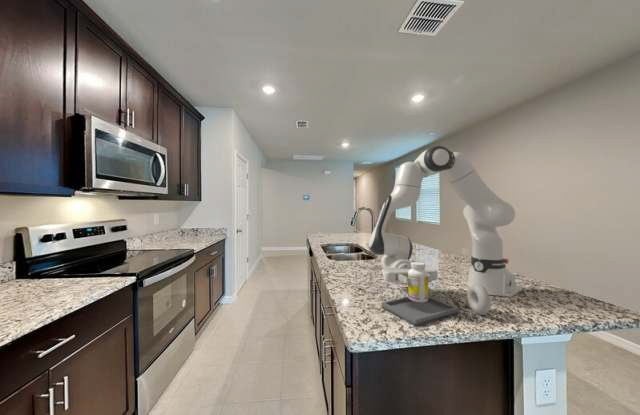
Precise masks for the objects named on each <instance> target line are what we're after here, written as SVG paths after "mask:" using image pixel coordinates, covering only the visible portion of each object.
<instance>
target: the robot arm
mask: <svg viewBox="0 0 640 415" xmlns="http://www.w3.org/2000/svg"><path fill="white" fill-rule="evenodd" d="M439 173H441V174H443V175H444V176H445V177H446V179H447V180H448V183H449V184H450V185H451V187H452V189H453V190H454V191H455V194H456V195H457V196H458V197H459V198H460V199H461V200H462V201H464V202H465V203H466V204H467V205H466V206H464V208H463V212H462V213H463V217H464V219H465V220H466V222H467V225H468V229H469V232H470V237H471V247H472V248H471V254H472V255H471V258H470V264H471V266H470V267H469V272H468V278H467V279H468V280H467V281H466V282H465V285H466V286H468V289H469V287H470V286H471V285H473V284H479V285H481V286H483V287H484V288H485V289H486V291H487V292H488V294H489V296H497V297H498V296H499V297H500V296H501V297H509V298H512V297H514V296H516V295H517V294H519V293H520V292H521V291H523V287H522V286H520V285H517V284H516V277H515V275H514V274H513V273H512V272H511V271H509V270H508V268H506V267H507V266H506V264H507V265H508V264H509V258H504V257H503V250H504V246H503V240H502V238H501V236H500V235H499V234H498V230H497V228H499V227H504V226H505V227H506V226H508V225H510V224H511V223H512V222H513V221H514V220H515V216H516V210H515V209H514V207H513V205H512V204H510V203H508V202H506V201H505V200H503V199H502V198H500V197H499V196H498V195H497V194H496V193H495V192H494V191H493V190H492V189H491V188H490V187H489V186H488V185H487V184H486V183H485V181H484V180H483V178H482V177H481V176H480V174H479V173H478V171H477V170H476V168H475V167H474V166H473V164H472V163H471V162H470V161H469V159H468V158H467V157H466V156H465V155H464V154H463V153H462V152H459V151H454V152H452V151H451V150H449V149H448V148H447V147H445V146H442V145H435V146H431V147H429V148H428V149H426V150H424V151H422V152H421V153H420V154H419V155H418V156H416V157H415V159H414V160H413V161H406V162H404V163H402V164H401V165H400V166H399V168H398V170H397V173H396V177H395V182H394V187H393V189H392V191H391V193H390V195H387V196H386V197H385V198H384V200H383V202H382V204H381V207H380V210H379V213H378V215H377V219H376V221H375V223H374V227H373V229H372V232H371V233H370V236H369V238H368V241H367V242H368V244H367V248H368V249H369V251H370V252H371V253H372V254H373V255H378V256H382V257H381V260H380V263H381V267H382V269H381V270H379V271H378V272H379V274H380V275H382V278H383V280H384V281H385V282H388V283H390V282H395V283H396V282H397V283H398V282H401V283H406V284H408V283H410V278H409V277H408V271H409V270H410V269H412V267H411V262H419V261H417V260H415V261H414V260H410V259H411V258H412V254H413V244H412V241H411V239H410V238H409V236H407V235H402V234H397V233H396V234H395V233H390V232H385V230H386V228H387V225H388V222H389V219H390V216H391V215H392V213H393V212H395V211H396V210H400V209H405V208H409V207H411V206H413V205H415V204H416V203H417V202H418V201H419V198H420V195H421V188H422V182H423V179H424V178H427V177H430V176H434V175H436V174H439ZM421 262H422V263H424V262H423V261H421ZM424 270H425V271H427V272H428V283H432V282H433V281H437V280H438V277H439V274H438V273H439V272H438V270H437V269H436V268H434V267H432V266H430V265H427V264H425V268H424Z"/></svg>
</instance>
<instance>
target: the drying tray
mask: <svg viewBox="0 0 640 415" xmlns="http://www.w3.org/2000/svg"><path fill="white" fill-rule="evenodd" d="M381 308H382V309H383V310H385V311H387V313H388V312H389V313H391V314H392V315H394V316H396V317H398V318H399V319H400V320H403V319H404V320H403V321H405V320H406V321H405V322H407V323H408V322H409V324H410V323H411V325H412V326H414V327H419V326H422V325H425V324H429V323H431V322H432V323H433V322H435V321H438V320H442V319H446V318H449V317H453V316H456V315H459V314H460V313H459V312H460V310H459V307H458V306H455V305H451V304H449V303H446V302H443V301H442V300H440V299H439V300H438V299H436V298H434V297H431V296H429V295H428V301H426V302H415V301H412V300H410V299H409V298H408V296H405V297H404V296H403V297H400V298H395V299H391V300H386V301H382V302H381Z"/></svg>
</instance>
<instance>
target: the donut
mask: <svg viewBox="0 0 640 415" xmlns="http://www.w3.org/2000/svg"><path fill="white" fill-rule="evenodd" d="M466 293H467V294H466V296H467V301H468V305H469V307H470V309H471V310H472V312H474V313H475V314H477V315H480V316H483V315H484V316H485V315H486V314H488V313H489V311H490V309H491V305H492V304H491V298H490V295H489V294H488V292H487V291H486V289H485V288H484V287H483V286H481V285H479V284H473V285H471V286H470V287H469V288H468V290H467V292H466Z"/></svg>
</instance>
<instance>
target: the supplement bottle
mask: <svg viewBox="0 0 640 415" xmlns="http://www.w3.org/2000/svg"><path fill="white" fill-rule="evenodd" d="M422 262H423V261H418V262H411V267H412V269H410V270H409V271H408V277H409V278H410V283H407V297H408V298H409V299H410V300H412V301H415V302H426V301H428V296H429V282H428V272H427V271H425V270H424V268H425V265H426V263H424V262H423V263H422Z"/></svg>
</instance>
